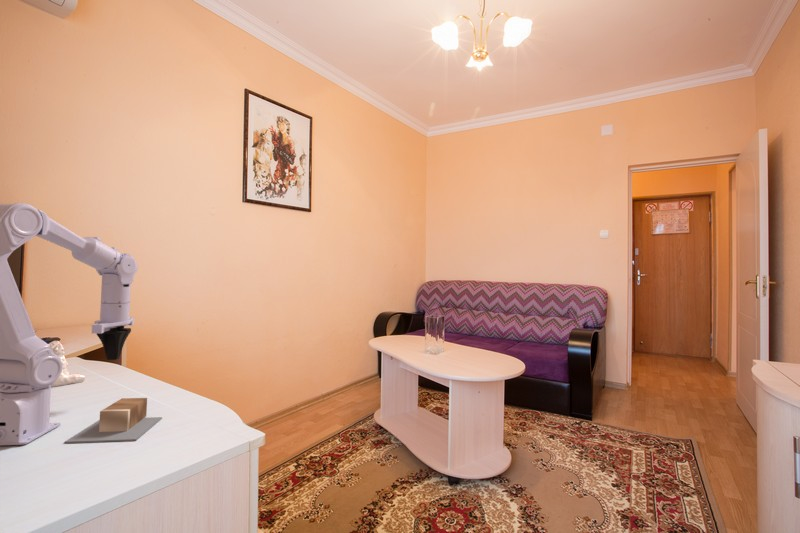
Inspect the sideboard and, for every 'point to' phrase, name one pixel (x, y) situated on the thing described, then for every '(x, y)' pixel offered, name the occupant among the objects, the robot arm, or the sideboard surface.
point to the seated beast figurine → (64, 367)
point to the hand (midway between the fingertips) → (113, 359)
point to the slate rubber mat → (114, 432)
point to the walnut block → (123, 414)
